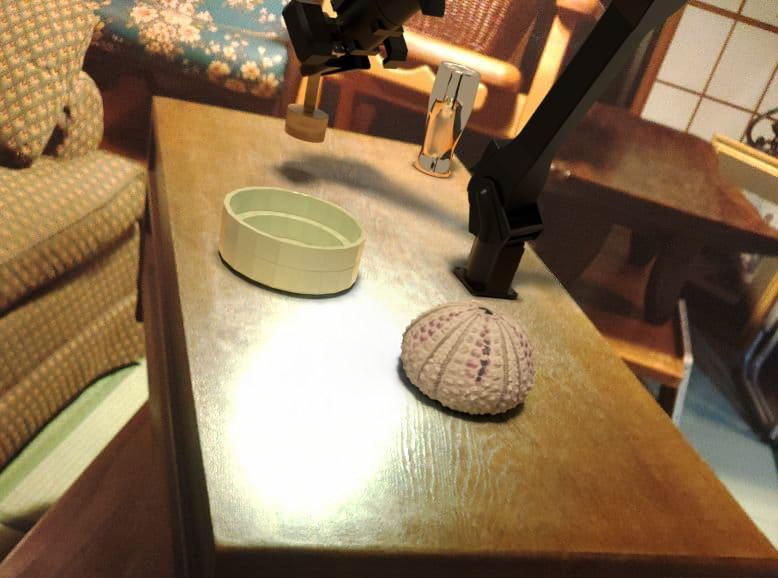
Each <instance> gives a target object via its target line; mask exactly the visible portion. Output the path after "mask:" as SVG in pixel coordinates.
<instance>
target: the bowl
mask: <svg viewBox="0 0 778 578" xmlns="http://www.w3.org/2000/svg"><path fill="white" fill-rule="evenodd" d="M220 221H221V222H220V223H221V224H220V231H219V240H218V247H217V248H218V250H219V253H220V255H221V258H222V259H223V261H225V262H226V263H227V264H228V265H229V266H230V267H231V268H232V269H233V270H235V271H236V272H238V273H240V274H242V275H243V276H245V277H247V278H249V279H250V280H252V281H255V282H256V283H259V284H261V285H263V286H266V287H268V288H272V289H276V290H279V291H282V292H286V293H292V294H300V295H326V294H327V295H328V294H336V293H339V292H341V291H344V290H347V289H350V288H351V287H352V285H353V284H354V283H355V282H356V281H357V277H358V273H359V270H360V265H361V260H362V257H363V252H364V248H365V244H366V240H367V230H366V228H365V226H364V225H363V224H362V222H361V221H360V220H359V219H358V217H356V216H354V215H353V214H352V213H350V212H349V211H348V210H346V209H344V208H343V207H340V206H338V205H337V204H335V203H332V202H331V201H328V200H325V199H323V198H320V197H317V196H315V195H312V194H309V193H304V192H301V191H297V190H293V189H288V188H282V187H273V186H247V187H241V188H237V189H236V188H235V189H234V190H232V191H230V192H229V193H227V194H226V195H225V197H224V200H223V203H222V213H221V220H220Z"/></svg>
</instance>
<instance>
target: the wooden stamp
mask: <svg viewBox="0 0 778 578" xmlns="http://www.w3.org/2000/svg"><path fill="white" fill-rule="evenodd" d="M323 13H324V16H325V17H331V16H330V15H329V13H328V12H327V11H323ZM321 78H322V77H321V73H320V74H316V75H312V76H308V77H307V80H306V87H305V92H304V99H303V104H300V103H289V104H288V105H287V110H286V115H285V122H284V128H283V130H284V132H285V133H286V135H288V136H289V137H292V138H294V139H297V140H300V141H303V142H307V143H313V144H320V143H324V142H325V140H326V135H327V128H328V125H329V118H330V117H329V114H328V113H326V112H325V111H323V110H321V109H319V108H317V107H316V105H317V99H318V95H319V88H320V83H321Z"/></svg>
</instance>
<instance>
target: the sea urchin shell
mask: <svg viewBox="0 0 778 578" xmlns="http://www.w3.org/2000/svg"><path fill="white" fill-rule="evenodd" d="M401 336H402V340H401V343H400V349H401V353H400V356H399V357H400V360H401V361H402V369H403V370H404V371H405V376H406V377H407V378H409V381H410V383H411V384H412V385H414V386H415V387H416V388H418V389H419V391H420V392H421V393H422V394H423V395H426V396H428V397H429V399H430V400H433V401H438V402H440V403H441V405H442V407H448V408H449V409H450V410H452V411H458V412H460V413H461V412H463V413H469V414H470V416H472V415H478V414H480V415H484V414H490V415H492V416H494V415H497V414H500V413H504V414H505V413H506V412H507V410H512V409H515V408H516V407H517V405H519V404H522V403H523V402H524V399H525V398H528V396H529V395H530V391H532V389H533V388H534V385H533V384H534V383H535V382H536V378H535V374H536V373H537V371H538V370H537V368H536V365H535V361H536V358H537V357H536V356H535V353H534V349H535V347H533V345H532V342H531V340H530V337H529V335H528V334H527V332H526V331H525V329H524V327H523V326H522V324H521V323H520V322H519V321H518V320H517V319H516V318H515V317H513V316H511V315H510V314H508V313H505V312H504V311H502V310H500V309H498V308H496V307H495V306H494V305H492V304H490V303H487V302H485V301H484V300H483V301H482V300H477V299H469V300H461V301H459V300H458V301H457V300H456V301H450V300H447V302H445V303H443V304H441V303H437V306H435V307H430V309H427V310H426V311H424V312H422V313H421V314H419V315H417V316H416V318H413V319H411V320H410V324H408V325H406V326H405V331H403V333H402V334H401Z"/></svg>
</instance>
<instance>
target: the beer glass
mask: <svg viewBox="0 0 778 578" xmlns="http://www.w3.org/2000/svg"><path fill="white" fill-rule="evenodd" d="M439 63H440V64H439V66H438V70H437V71H436V72H437V73H436V76H435V79H434V80H433V85H432V88H431V91H430V95H429V99H428V105H427V110H426V111H427V113H426V119H425V128H424V134H423V135H424V137H423V141H422V144H421V147H420V150H419V153H418V155H417V156H416V159H415V161H414V167H415V168H416V169H417V170H419V171H420V172H422V173H424V174H427V175H429V176H433V177H436V178H437V177H438V178H448V177H449V176H450V175H451V169H452V162H453V157H454V153H455V150H456V148H457V145H458V142H459V140H460V138H461V136H462V135H463V132H464V131H465V128H466V126H467V124H468V122H469V119H470V117H471V114H472V111H473V108H474V105H475V102H476V98H477V94H478V89H479V85H480V81H481V77H482V74H481V73H480V72H479V71H478V70H476V69H473V68H471V67H469V66H466V65H463V64H460V63H457V62H452V61H448V60H441V61H440V62H439Z"/></svg>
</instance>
